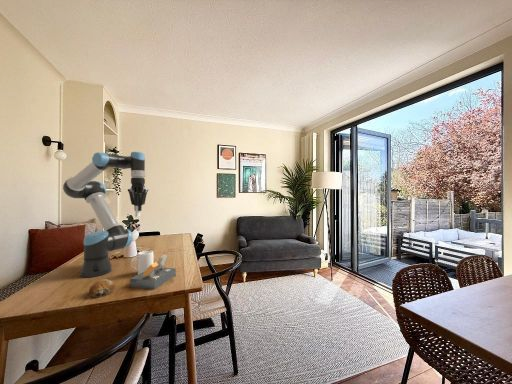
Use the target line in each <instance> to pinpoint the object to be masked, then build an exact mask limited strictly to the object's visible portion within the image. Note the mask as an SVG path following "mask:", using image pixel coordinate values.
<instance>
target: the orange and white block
mask: <svg viewBox="0 0 512 384" xmlns="http://www.w3.org/2000/svg"><path fill="white" fill-rule="evenodd" d="M157 262H158V261H155V262H153V264H151V265H150V266H149V267H148V268H147V270H146V271H145V272H144V273H143V275H142V276H141V277H142V278H144V277H146V276H148V275H150V274H151V273H152V272H153V271H154V270H155V268H156V267H157V266H158V264H157Z"/></svg>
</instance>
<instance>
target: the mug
mask: <svg viewBox="0 0 512 384" xmlns="http://www.w3.org/2000/svg"><path fill="white" fill-rule="evenodd" d="M136 259H137V265H138V266H137V267H135V266H134V265H133V262H134V260H136ZM130 262H131V264H130V265H131V267H132V269H134V270H136V271H137V275H138V274H140V273H142V272H144V271H146V270H147V268H148V267H149V266H150V265H151V264H153V263H154V251H153V250H143V251H142V250H141V251H139V252H138V253H137V255H136V256H134V257H133V258H132V260H131V261H130Z"/></svg>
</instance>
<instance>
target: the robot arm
mask: <svg viewBox="0 0 512 384" xmlns="http://www.w3.org/2000/svg"><path fill="white" fill-rule="evenodd" d="M145 165H146V157H145V153H144V152H143V151H142V152H141V151H132V152H130V155H127V156H125V155H118V154H111V153H105V152H95V153H94V154H93V156H92V159H91V162H90V163H88V165H86V166H85V167H84V168H83V169H81V170H80V171H79V172H78V173H76V175H74V176H71V177H68V178H67V180H65V182H64V183H63V185H62V190H63V193H64V194H65V195H66V196H68V197H70V198H71V199H84V200H85V203H87V204H90V206H91V208H92V209H93V211H94V213H95V215H96V217H97V218H98V221H99V223H100V225H101V226H102V228H103V230H99V231H94V232H90V233H88V234H86V235H85V236H84V238H83V263H82V266H81V269H80V271H79V276H80V277H81V278H93V277H99V276H104V275H107V274H110V272H112V269H113V267H112V266H113V265H112V264H111V260H110V258H109V253H110V252H114V251H117V250H122V249H125V248H128V247H130V245H131V244H132V242H133V233H132V231H131V230H130V229H129V228H125V227H124V226H123V225H122V224H119V222H118V219H117V218H116V216H115V214H114V213H113V211H112V209H111V208H110V206H109V203H108V202H107V201H106V199H105V198H106V195H107V187H106V185H105V184H104V183H103V182H101V181H96V180H94V179H96V178H97V177H99V175H100V174H102V173H104V172H105V171H106V170H107V169H109V168H114V169H115V168H116V169H122V170H127V169H128V170H129V169H130V184H131V187H130V188H128V189H127V192H128V195H129V200H130V204H131V205H132V206H134V208H133V209H134V213H135V214H134V215H135V217H136V218H138V217H141V215H142V214H141V213H142V211H143V210H142V206H143V205H146V198H147V195H148V191H149V189H148V188H146V187H145V182H146V178H145V177H146V171H145V170H146V169H145V168H146V167H145Z"/></svg>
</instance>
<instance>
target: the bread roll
mask: <svg viewBox="0 0 512 384" xmlns="http://www.w3.org/2000/svg"><path fill="white" fill-rule="evenodd" d="M114 291H115V283H114V281H112V280H110V279H107V278H103V279H98V280H97V281H96V282H94V283H93V284H92V285H91V286H90V287H89V290H88V295H89V297H90V298H102V297H105V296H108V295H109V294H112V293H113V292H114Z"/></svg>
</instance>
